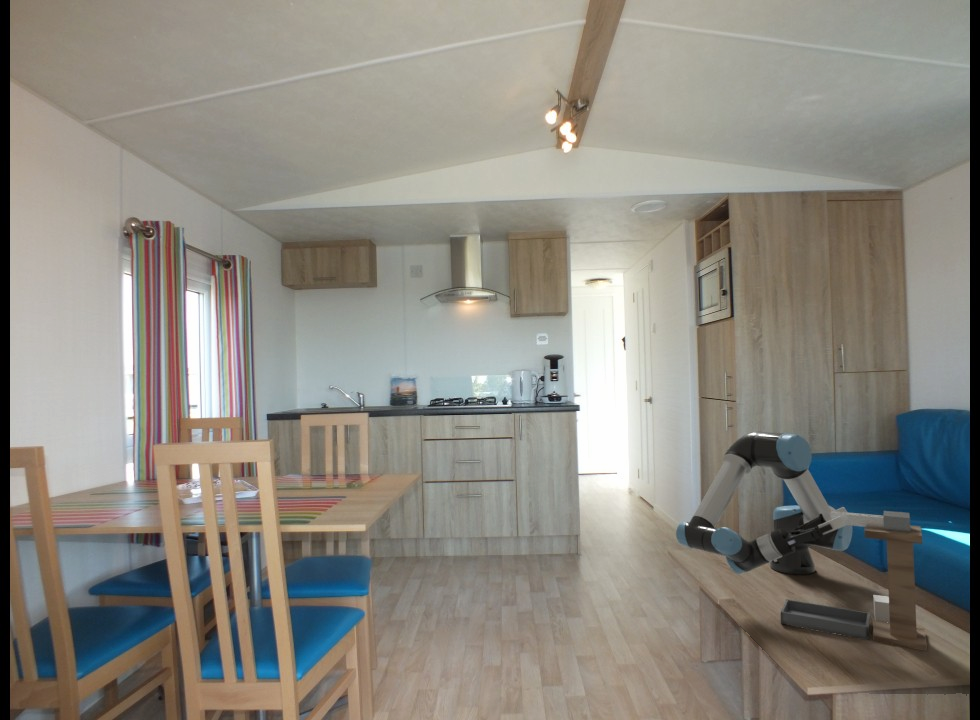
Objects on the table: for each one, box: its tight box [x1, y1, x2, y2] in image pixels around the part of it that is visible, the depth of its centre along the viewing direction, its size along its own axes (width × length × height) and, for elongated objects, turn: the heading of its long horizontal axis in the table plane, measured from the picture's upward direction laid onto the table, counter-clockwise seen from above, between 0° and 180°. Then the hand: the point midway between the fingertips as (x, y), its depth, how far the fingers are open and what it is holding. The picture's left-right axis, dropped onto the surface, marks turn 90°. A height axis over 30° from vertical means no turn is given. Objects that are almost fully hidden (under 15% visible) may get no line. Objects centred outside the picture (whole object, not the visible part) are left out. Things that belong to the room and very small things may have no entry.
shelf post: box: [864, 524, 928, 652], centre depth 170 cm, size 12×13×30 cm
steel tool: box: [830, 510, 911, 533], centre depth 174 cm, size 7×19×4 cm, turn 57°
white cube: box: [872, 594, 890, 623], centre depth 182 cm, size 6×6×6 cm
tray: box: [780, 598, 871, 641], centre depth 179 cm, size 12×22×4 cm, turn 57°
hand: (845, 515), depth 177 cm, fingers open, 13 cm apart
